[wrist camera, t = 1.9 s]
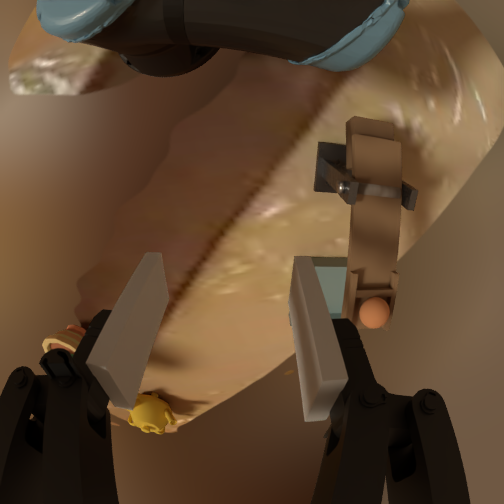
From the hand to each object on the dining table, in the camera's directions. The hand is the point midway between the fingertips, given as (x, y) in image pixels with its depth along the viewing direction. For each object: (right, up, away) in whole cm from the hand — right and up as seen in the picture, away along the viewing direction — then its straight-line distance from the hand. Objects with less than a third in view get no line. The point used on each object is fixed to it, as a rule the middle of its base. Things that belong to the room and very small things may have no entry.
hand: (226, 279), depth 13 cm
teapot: (-27, -41, +55) cm, 73 cm away
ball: (+15, -5, +15) cm, 22 cm away
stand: (+15, +13, +23) cm, 31 cm away
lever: (+15, +5, +19) cm, 25 cm away
